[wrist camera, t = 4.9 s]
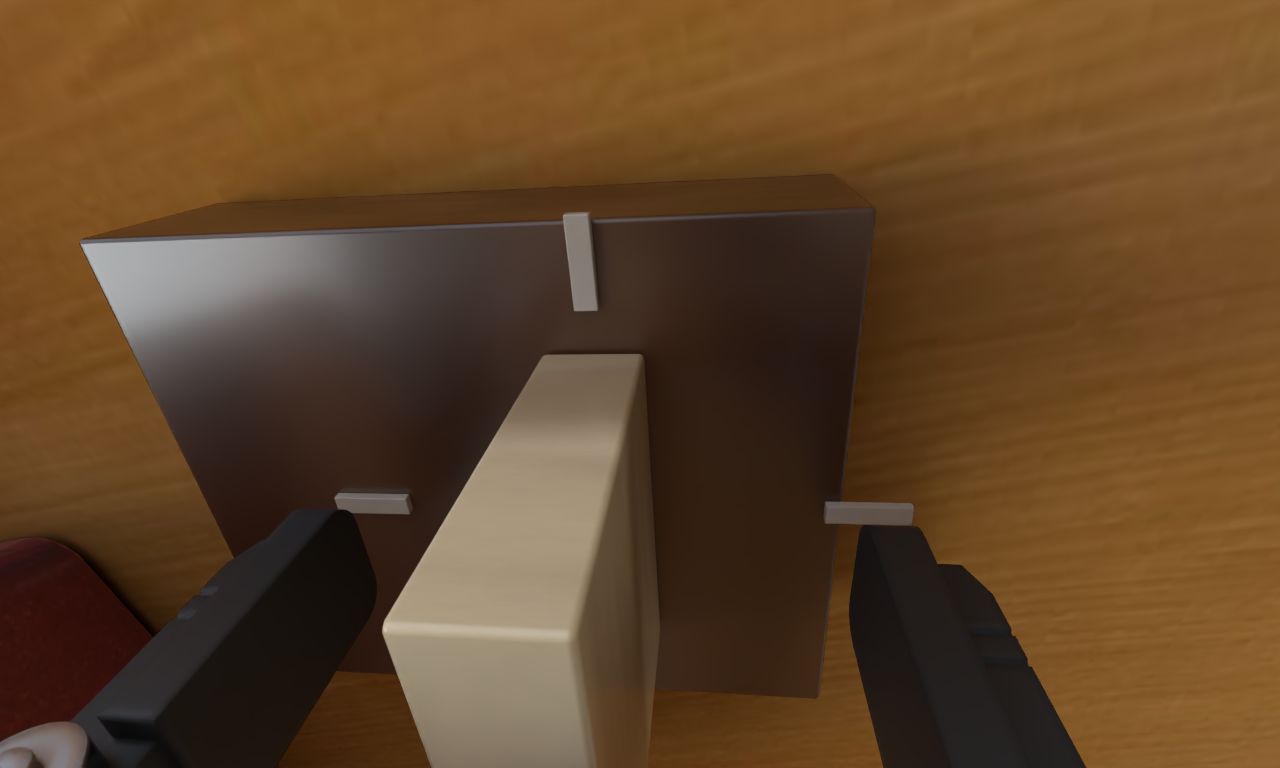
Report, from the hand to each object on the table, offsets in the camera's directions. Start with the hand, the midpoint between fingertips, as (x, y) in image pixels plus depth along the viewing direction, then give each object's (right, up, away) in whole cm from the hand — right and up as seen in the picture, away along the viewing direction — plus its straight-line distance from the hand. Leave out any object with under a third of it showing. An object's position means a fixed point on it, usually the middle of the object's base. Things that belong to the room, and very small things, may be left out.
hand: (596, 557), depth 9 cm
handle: (0, +1, +1) cm, 1 cm away
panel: (-2, +2, +4) cm, 5 cm away
